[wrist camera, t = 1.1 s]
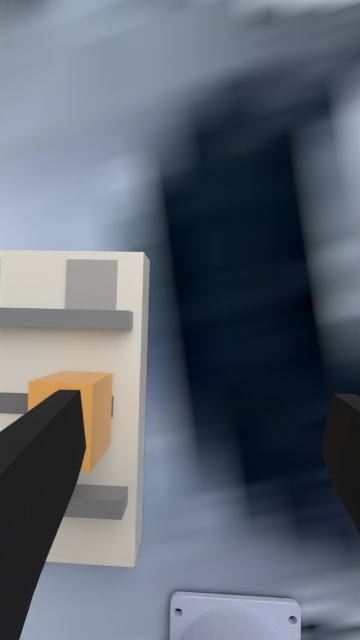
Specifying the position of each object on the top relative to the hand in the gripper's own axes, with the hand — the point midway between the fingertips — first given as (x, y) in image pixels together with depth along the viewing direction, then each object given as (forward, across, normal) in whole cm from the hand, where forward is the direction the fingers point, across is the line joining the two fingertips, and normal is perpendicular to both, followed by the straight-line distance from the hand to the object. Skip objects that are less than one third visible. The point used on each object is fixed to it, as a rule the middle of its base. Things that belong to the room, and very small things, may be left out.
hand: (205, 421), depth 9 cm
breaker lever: (+8, +6, +5) cm, 11 cm away
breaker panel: (+10, +10, +6) cm, 16 cm away
